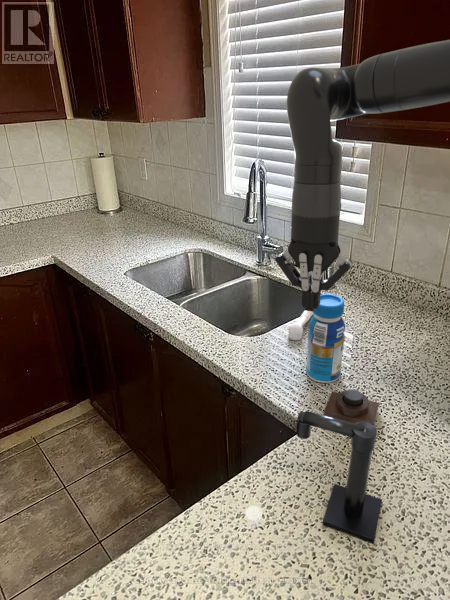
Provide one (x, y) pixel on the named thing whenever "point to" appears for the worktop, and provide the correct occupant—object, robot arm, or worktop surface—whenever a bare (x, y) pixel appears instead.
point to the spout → (338, 429)
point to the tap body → (354, 502)
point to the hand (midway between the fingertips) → (310, 309)
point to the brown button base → (351, 409)
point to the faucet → (299, 326)
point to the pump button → (352, 398)
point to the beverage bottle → (326, 340)
